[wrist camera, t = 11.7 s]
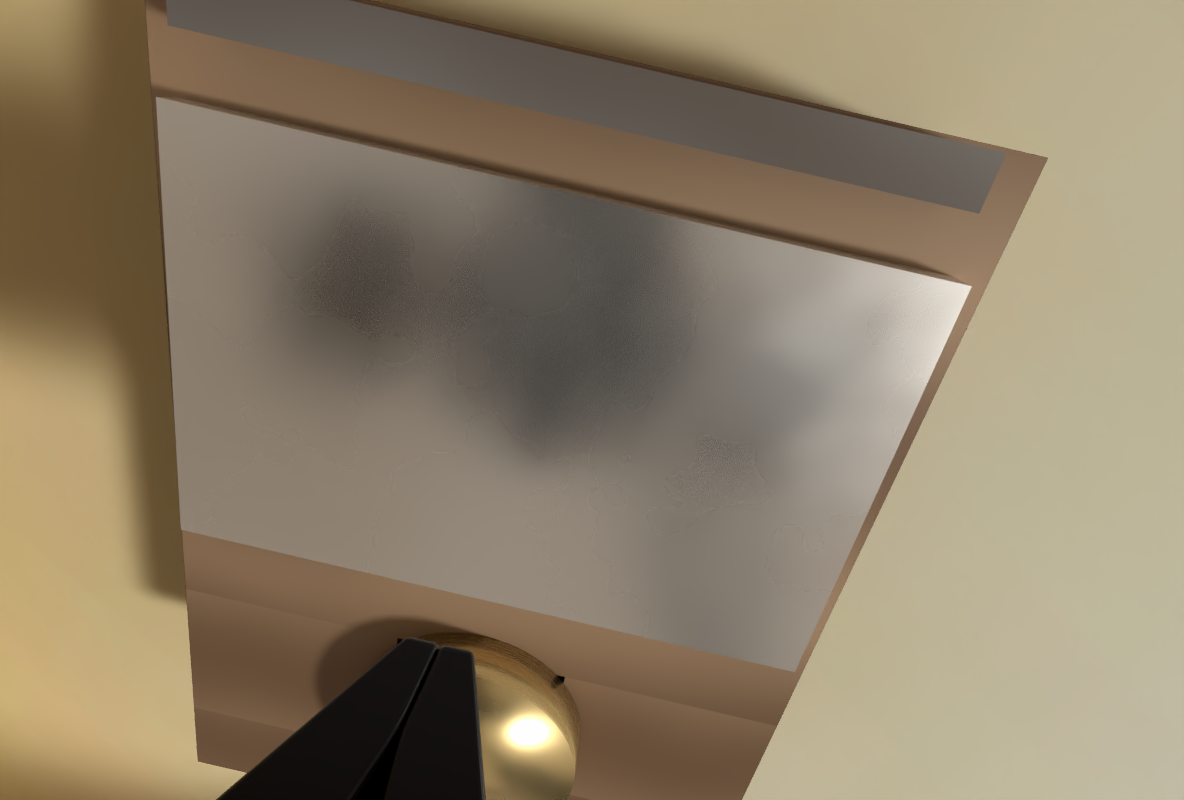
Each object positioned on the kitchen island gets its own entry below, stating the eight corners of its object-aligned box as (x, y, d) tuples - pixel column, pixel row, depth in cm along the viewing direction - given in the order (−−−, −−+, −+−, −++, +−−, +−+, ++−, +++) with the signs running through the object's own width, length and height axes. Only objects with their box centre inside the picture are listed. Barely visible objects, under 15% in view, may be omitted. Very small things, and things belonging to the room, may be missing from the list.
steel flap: (788, 646, 12) (794, 672, 11) (202, 510, 12) (180, 529, 11) (952, 276, 9) (972, 286, 9) (185, 98, 9) (156, 96, 9)
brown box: (695, 729, 19) (707, 928, 14) (288, 634, 19) (167, 803, 14) (930, 143, 12) (1094, 163, 7) (297, -3, 12) (78, -73, 7)
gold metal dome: (577, 676, 18) (550, 857, 14) (415, 638, 18) (336, 808, 14) (614, 544, 16) (596, 705, 12) (432, 502, 16) (348, 648, 12)
